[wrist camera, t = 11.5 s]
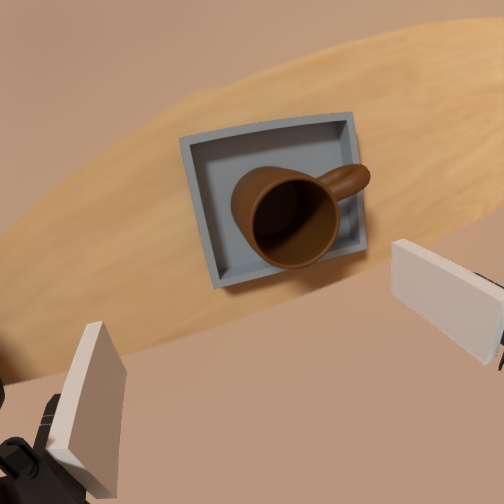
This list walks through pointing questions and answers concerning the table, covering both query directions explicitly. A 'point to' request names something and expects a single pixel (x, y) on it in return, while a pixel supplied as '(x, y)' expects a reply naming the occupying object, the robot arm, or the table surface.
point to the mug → (293, 211)
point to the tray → (258, 155)
